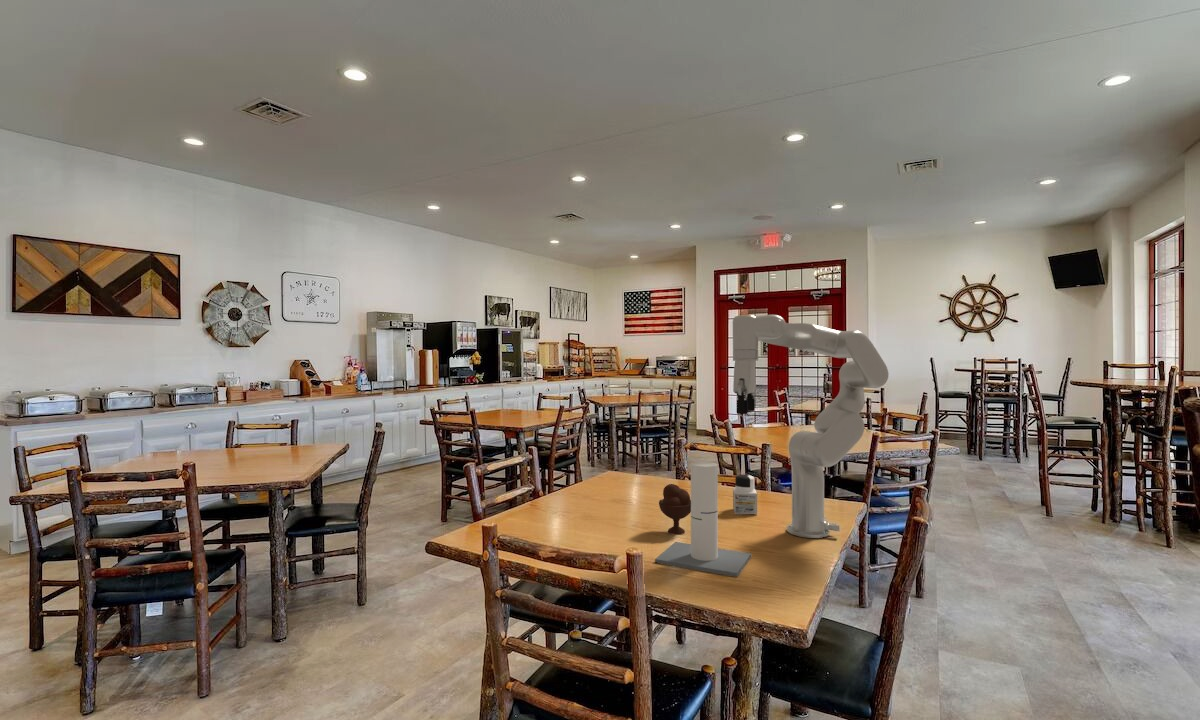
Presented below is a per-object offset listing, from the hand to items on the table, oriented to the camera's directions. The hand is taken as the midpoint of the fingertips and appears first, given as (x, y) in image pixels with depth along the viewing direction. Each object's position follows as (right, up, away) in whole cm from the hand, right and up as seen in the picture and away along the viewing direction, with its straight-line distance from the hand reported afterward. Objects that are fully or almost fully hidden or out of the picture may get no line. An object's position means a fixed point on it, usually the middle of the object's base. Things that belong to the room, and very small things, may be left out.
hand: (745, 412), depth 171 cm
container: (+7, -38, +29) cm, 49 cm away
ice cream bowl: (-20, -39, +6) cm, 44 cm away
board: (-16, -38, -18) cm, 45 cm away
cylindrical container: (-16, -38, -18) cm, 45 cm away
